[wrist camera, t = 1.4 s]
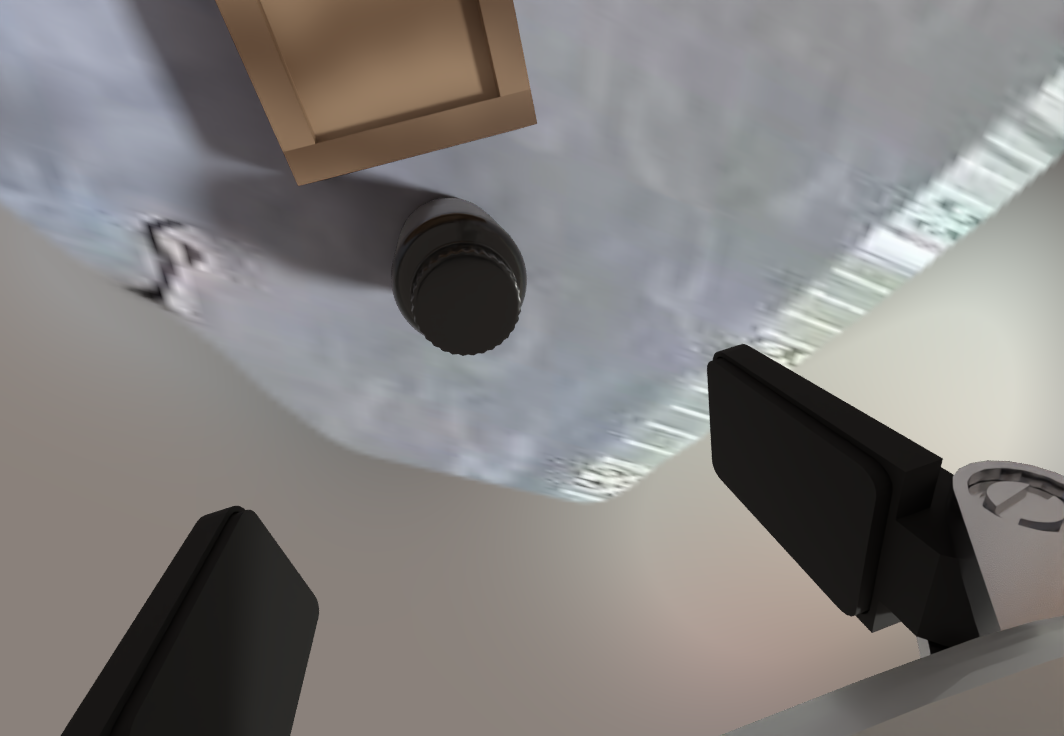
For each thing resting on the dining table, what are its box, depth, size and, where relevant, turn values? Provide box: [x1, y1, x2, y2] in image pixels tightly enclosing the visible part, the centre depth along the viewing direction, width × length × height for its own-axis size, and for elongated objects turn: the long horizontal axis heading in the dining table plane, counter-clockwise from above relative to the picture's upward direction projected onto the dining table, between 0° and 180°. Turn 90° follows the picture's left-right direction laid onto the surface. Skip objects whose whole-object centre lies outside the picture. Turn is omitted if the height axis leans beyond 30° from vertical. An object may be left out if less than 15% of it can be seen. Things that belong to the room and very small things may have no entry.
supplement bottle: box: [391, 198, 527, 356], centre depth 24 cm, size 7×7×12 cm
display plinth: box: [215, 0, 537, 186], centre depth 22 cm, size 12×12×6 cm
